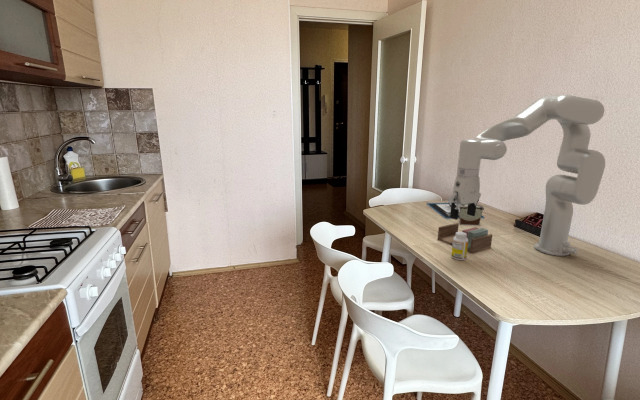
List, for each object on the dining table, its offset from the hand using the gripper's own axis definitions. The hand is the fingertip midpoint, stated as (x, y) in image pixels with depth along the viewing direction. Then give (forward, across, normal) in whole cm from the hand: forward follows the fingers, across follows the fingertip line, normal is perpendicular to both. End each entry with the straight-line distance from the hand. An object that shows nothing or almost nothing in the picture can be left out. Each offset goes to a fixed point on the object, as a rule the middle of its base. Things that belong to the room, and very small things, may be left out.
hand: (462, 216), depth 134 cm
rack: (+17, +14, +9) cm, 24 cm away
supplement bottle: (+17, 0, 0) cm, 17 cm away
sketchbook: (+17, +52, +46) cm, 72 cm away
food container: (+17, +40, +27) cm, 51 cm away
